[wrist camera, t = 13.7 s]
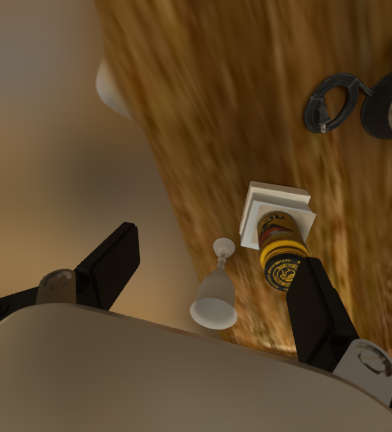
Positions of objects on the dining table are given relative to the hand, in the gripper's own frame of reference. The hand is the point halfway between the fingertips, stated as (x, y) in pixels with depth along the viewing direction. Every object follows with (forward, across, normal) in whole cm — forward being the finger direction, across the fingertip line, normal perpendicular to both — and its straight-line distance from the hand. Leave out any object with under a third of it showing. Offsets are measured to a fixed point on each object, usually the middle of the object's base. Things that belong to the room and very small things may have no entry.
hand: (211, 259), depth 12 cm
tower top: (+26, -8, +10) cm, 29 cm away
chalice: (+29, -1, +21) cm, 36 cm away
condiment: (+22, -9, +9) cm, 26 cm away
